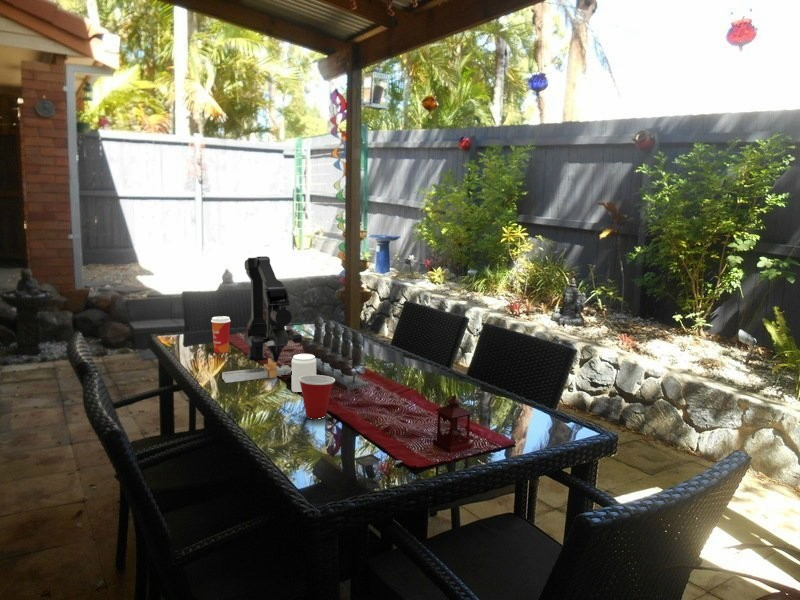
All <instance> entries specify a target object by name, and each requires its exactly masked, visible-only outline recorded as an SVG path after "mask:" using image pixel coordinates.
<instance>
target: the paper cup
mask: <svg viewBox="0 0 800 600" xmlns="http://www.w3.org/2000/svg"><path fill="white" fill-rule="evenodd" d="M231 321H232V320H231V319H230V316H226V315H225V316H224V315H222V316H221V315H220V316H219V315H218V316H213V317H211V320H210V322H211V328H212V329H211V331H212V342H213V351H214V353H215V354H226V353H228V352H229V348H230V347H229V346H230V331H231V330H230V328H231V327H230V325H231Z"/></svg>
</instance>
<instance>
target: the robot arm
mask: <svg viewBox="0 0 800 600" xmlns="http://www.w3.org/2000/svg"><path fill="white" fill-rule="evenodd" d="M244 269H245V273H246V275H247V277H248V278H249V280H250V303H251V304H250V307H251V309H250V311H251V314H250V315H251V316H250V318H249V320H248V322H247V323H246V330H245V332H244V336H243V342H244V343H245V344H246V345H248V354H246V356H245V357H246V358H247V359H249V360H250V361H256V360H265V359H266V360H268V357H267V356H266V355H265V347H266V348H267V349H268V350H269V353H270V355H271V359H272V360H274V361H275V362H276V364H277V363H278V362H279V358H280V355H281V352H282V350H283V349H284V348H285V347H287V346H288V344H289V341H292V342H293V343H294V344H299V343H300V344H301V343H303V342H304V341H303V338H304V337H303V335H302V334H301V333H299V332H298V331H294V329H286V327H285V326H288V325H289V324H290V323H291V322H292V317H293V315H292V314H291V313H292V312H290V310H288V309H287V307H288V306H290V303H291V298H290V297H289V296H290V295H289V293H288V291H287V288H286V287H285V285H284V283H283V282H282V281H281V280H278V279H277V277H276V274H275V272H274V269H273V267H272V265H271V259H270V256H265V255H263V256H260V255H259V256H256V257H248V258H247V259H246V260H244ZM264 303H265V305H266V319H265V318H264Z"/></svg>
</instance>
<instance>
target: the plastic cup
mask: <svg viewBox="0 0 800 600" xmlns="http://www.w3.org/2000/svg"><path fill="white" fill-rule="evenodd" d="M299 381H300V385H301V389H302V394H301V395H302V400H303V406H304V411H305V415H306V418H307V417H309V418H312V419H318V418H322V417H324V416H326V417H327V412H328V407H329V404H330V403H329V402H330V398H331V393H332V389H333V385H334V383H335V382H336V379H335V378H334V377H332V376H329V375H323V374H321V375H320V374H316V375H305V376H301V377H299ZM312 419H311V420H312Z"/></svg>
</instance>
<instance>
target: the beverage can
mask: <svg viewBox="0 0 800 600" xmlns="http://www.w3.org/2000/svg"><path fill="white" fill-rule="evenodd" d="M291 368H292V375H291V391H292V392H293V393H295V392H302V389H301V385H300V381H299V377H301V376H305V375H317V359H316V356H315V355H314V354H311V353H299V354H294V355H293V357H292V359H291Z"/></svg>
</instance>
